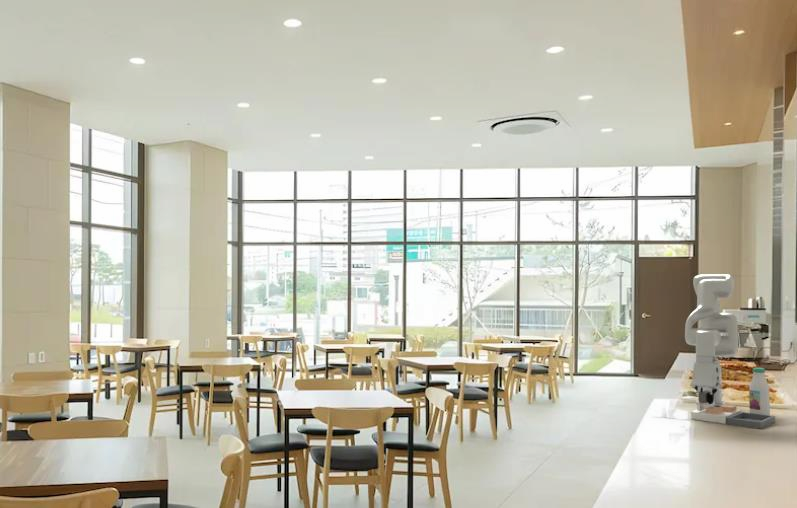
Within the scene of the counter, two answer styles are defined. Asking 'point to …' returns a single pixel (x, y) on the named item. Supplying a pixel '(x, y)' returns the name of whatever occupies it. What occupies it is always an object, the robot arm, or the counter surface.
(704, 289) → the robot arm
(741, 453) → the counter surface
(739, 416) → the tray
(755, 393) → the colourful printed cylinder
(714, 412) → the tile
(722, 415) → the offwhite board
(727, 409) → the tile
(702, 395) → the dark block with bar
